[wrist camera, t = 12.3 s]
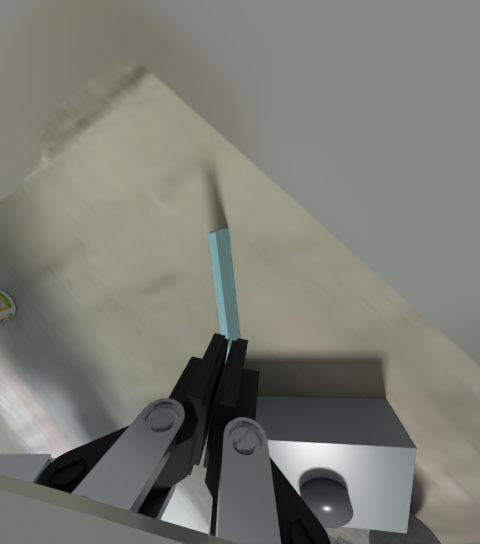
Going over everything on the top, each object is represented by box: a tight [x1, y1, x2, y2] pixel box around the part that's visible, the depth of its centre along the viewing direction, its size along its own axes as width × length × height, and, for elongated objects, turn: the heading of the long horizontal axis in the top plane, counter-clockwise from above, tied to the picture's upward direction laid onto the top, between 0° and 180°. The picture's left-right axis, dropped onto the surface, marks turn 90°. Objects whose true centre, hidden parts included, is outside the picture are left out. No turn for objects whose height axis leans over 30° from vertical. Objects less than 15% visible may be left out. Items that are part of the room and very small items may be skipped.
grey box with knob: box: [255, 396, 417, 533], centre depth 31 cm, size 20×14×9 cm
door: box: [208, 228, 240, 363], centre depth 29 cm, size 26×1×7 cm, turn 6°
